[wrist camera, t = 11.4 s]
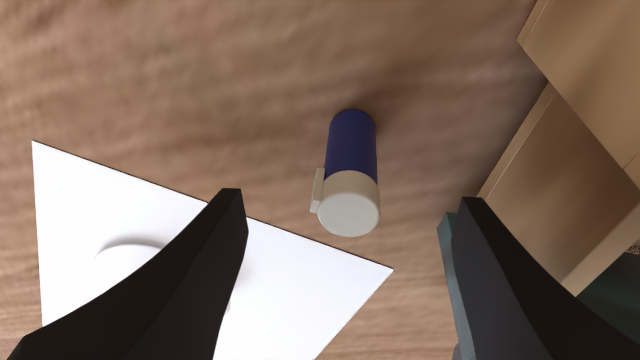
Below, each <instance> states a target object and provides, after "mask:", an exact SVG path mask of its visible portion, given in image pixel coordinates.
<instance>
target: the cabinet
mask: <svg viewBox="0 0 640 360" xmlns="http://www.w3.org/2000/svg"><path fill="white" fill-rule="evenodd" d="M516 41H517V42H518V43H519V44H520V46H521V47H522V48H523V50H524V51H525V52H526V53H527V55H528V56H529V57H530V58H531V59H532V61H533V62H534V63H535V64H536V66H537V67H538V68H539V69H540V70H541V72H542V73H543V74H544V75H545V76H546V78H547V79H548V80H549V81H550V82H551V84H552V85H553V86H554V87H555V88H556V90H557V91H558V92H559V93H560V94H561V96H562V97H563V98H564V99H565V101H566V102H567V103H568V104H569V105H570V107H571V108H572V109H573V110H574V111H575V113H576V114H577V115H578V116H579V117H580V119H581V120H582V121H583V122H584V123H585V125H586V126H587V127H588V128H589V130H590V131H591V132H592V133H593V134H594V136H595V137H596V138H597V139H598V140H599V142H600V143H601V144H602V145H603V146H604V148H605V149H606V150H607V151H608V152H609V154H610V155H611V156H612V157H613V158H614V160H615V161H616V162H617V163H618V165H619V166H620V167H621V168H622V169H624V171H625V173H626V174H627V175H628V176H629V177H630V179H631V180H632V181H633V182H634V183H635V185H636V186H637V187H638V188H639V189H640V0H537V2H536V4H535V6H534V8H533V10H532V11H531V13H530V15H529V17H528V19H527V21H526V23H525V24H524V26H523V28H522V30H521V32H520V34H519V36H518V37H517V40H516Z"/></svg>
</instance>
